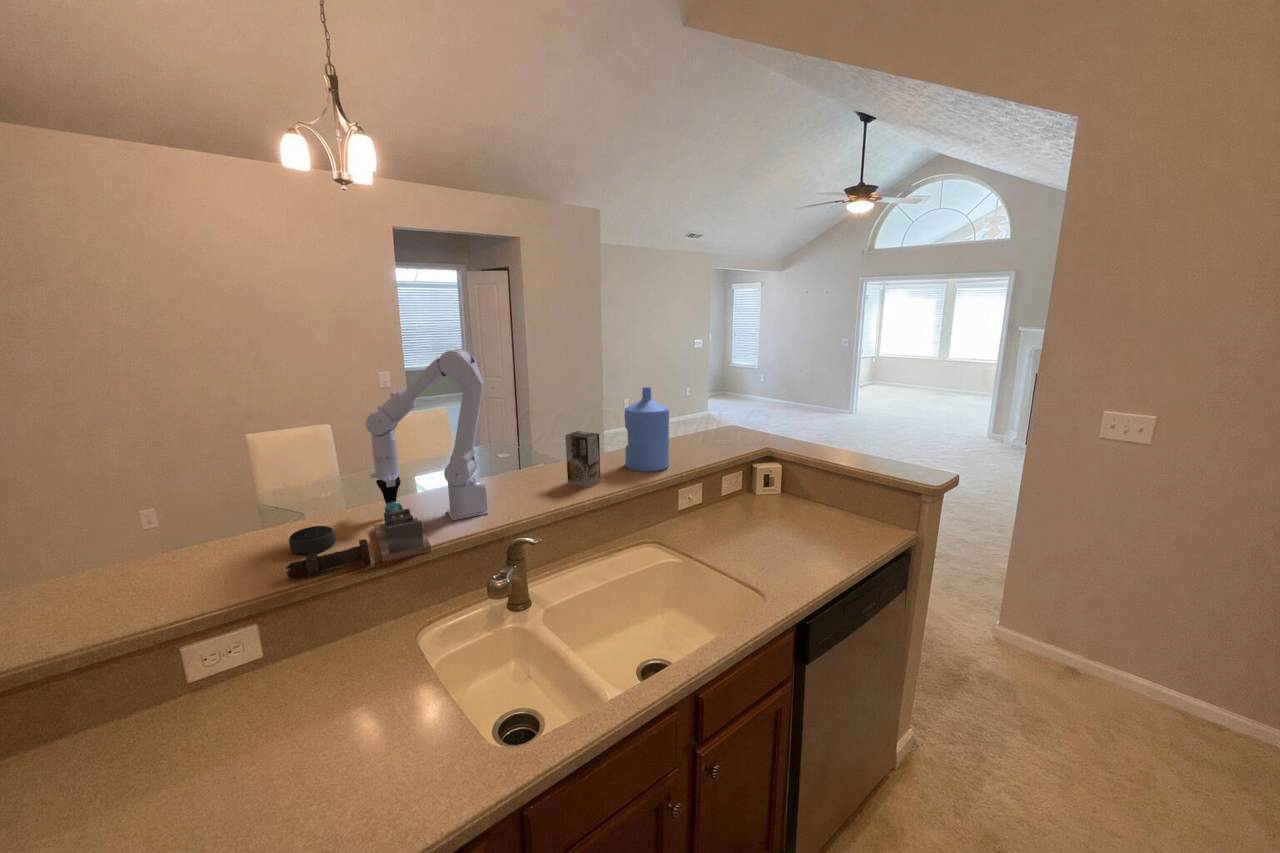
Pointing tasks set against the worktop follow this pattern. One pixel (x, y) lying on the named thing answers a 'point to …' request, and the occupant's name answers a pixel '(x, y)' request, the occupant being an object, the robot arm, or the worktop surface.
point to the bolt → (330, 561)
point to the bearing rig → (401, 536)
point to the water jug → (647, 435)
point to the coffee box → (583, 458)
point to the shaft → (393, 508)
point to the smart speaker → (312, 540)
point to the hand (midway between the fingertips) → (391, 505)
